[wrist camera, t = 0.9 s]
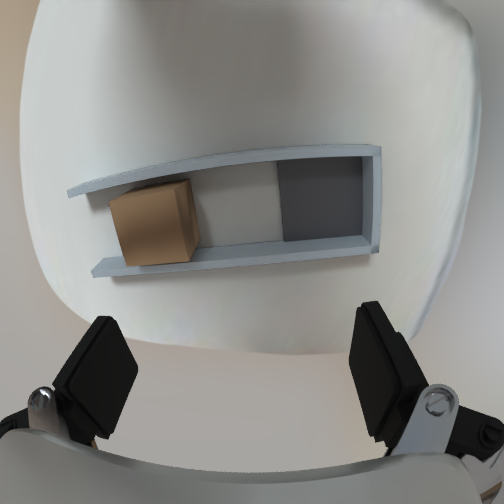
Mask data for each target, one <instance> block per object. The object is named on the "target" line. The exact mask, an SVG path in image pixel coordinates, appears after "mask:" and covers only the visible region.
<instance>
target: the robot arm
mask: <svg viewBox="0 0 504 504" xmlns="http://www.w3.org/2000/svg"><path fill="white" fill-rule="evenodd" d="M349 366H350V370H351V373H352V376H353V379H354V383H355V386H356V389H357V393H358V397H359V400H360V404H361V407H362V411H363V415H364V418H365V422H366V425H367V430H368V433H369V435H370V437H372V436H374V439H375V442H380V441H384V442H385V445H386V447H388V449H387V450H386V452H385V454H384V456H383V457H382V458H378V459H372V460H367V461H361V462H356V463H351V464H345V465H339V466H334V467H326V468H317V469H310V470H299V471H287V472H265V473H264V472H263V473H241V472H240V473H238V472H216V471H204V470H194V469H185V468H179V467H172V466H165V465H160V464H154V463H149V462H145V461H140V460H135V459H131V458H127V457H123V456H119V455H115V454H112V453H108V452H105V451H102V450H98V447H97V445H96V442H95V439H94V438H95V435H97V436H98V437H100V438H104V439H109V436H110V434H112V433H113V432H114V430H115V427H116V424H117V422H118V420H119V417H120V414H121V412H122V409H123V407H124V405H125V402H126V400H127V397H128V394H129V392H130V390H131V388H132V385H133V383H134V380H135V378H136V376H137V373H138V365H137V363H136V361H135V359H134V357H133V355H132V354H131V351H130V349H129V347H128V345H127V343H126V341H125V339H124V337H123V334H122V332H121V330H120V328H119V326H118V323H117V321H116V320H114V319H113V318H112V317H111V316H98V317H97V318H96V319H95V321H94V322H93V323H92V325H91V326H90V328H89V329H88V330H87V332H86V333H85V335H84V336H83V338H82V339H81V341H80V342H79V343H78V345H77V346H76V348H75V349H74V351H73V352H72V354H71V355H70V357H69V358H68V360H67V361H66V363H65V364H64V366H63V367H62V369H61V370H60V372H59V374H58V375H57V377H56V378H55V380H54V382H53V383H52V385H53V386H54V387H55V390H54V391H53V390H52V389H51V388H49V387H45V386H44V387H39V388H38V389H36V390H35V391H33V392H32V394H31V395H30V397H29V399H28V408H26V409H23V410H21V411H19V412H17V413H14V414H12V415H10V416H7V417H6V418H4V419H3V420H2V421H1V422H0V504H504V424H503V423H502V422H501V421H500V420H498V419H497V418H494V417H491V416H488V415H485V414H482V413H480V412H477V411H474V410H471V409H468V408H466V407H463V406H460V405H459V399H458V396H457V394H456V393H455V391H454V390H453V389H452V388H450V387H448V386H446V385H443V384H433V385H430V386H429V384H428V382H427V380H426V378H425V376H424V374H423V372H422V371H421V368H420V367H419V365H418V363H417V361H416V359H415V357H414V355H413V353H412V351H411V350H410V348H409V346H408V344H407V342H406V341H405V339H404V337H403V335H402V334H401V333H399V332H395V330H394V328H393V326H392V325H391V323H390V321H389V319H388V318H387V316H386V314H385V312H384V311H383V309H382V307H381V305H380V304H379V302H378V301H371V302H363V303H362V304H361V307H358V308H357V310H356V317H355V324H354V331H353V337H352V343H351V349H350V355H349Z"/></svg>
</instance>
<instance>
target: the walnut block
mask: <svg viewBox="0 0 504 504" xmlns="http://www.w3.org/2000/svg"><path fill="white" fill-rule="evenodd" d="M109 205H110V209H111V213H112V217H113V221H114V225H115V229H116V232H117V236H118V239H119V243H120V246H121V250H122V253H123V256H124V259H125V263H126V266H127V267H129V266H141V265H152V264H164V263H175V262H186V261H189V260H190V258H191V256H192V254H193V253H194V251H195V249H196V247H197V245H198V243H199V241H200V239H201V238H200V233H199V227H198V222H197V217H196V211H195V206H194V200H193V195H192V189H191V183H190V178H189V179H183V180H177V181H171V182H166V183H160V184H155V185H149V186H144V187H139V188H134V189H131V190H130V191H128V192H126V193H124V194H122V195H120V196H118V197H117V198H115V199H113V200H111V201H109Z"/></svg>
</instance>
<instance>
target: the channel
mask: <svg viewBox="0 0 504 504" xmlns="http://www.w3.org/2000/svg"><path fill="white" fill-rule="evenodd" d="M273 160H277V166H278V176H279V187H280V198H281V209H282V222H283V234H284V240H283V241H272V242H262V243H251V244H241V245H230V246H220V247H210V248H200V249H195V251H194V253H193V254H192V256H191V258H190V260H189V261H186V262H175V263H164V264H152V265H141V266H129V267H127V266H126V263H125V259H124V256H122V257H112V258H104V259H103V260H102V261H100V262H99V263H98V264H97V265H96V266H95V267H94V268H93V269H92V270H91V273H92V275H93V278H96V277H110V276H124V275H138V274H152V273H165V272H178V271H190V270H202V269H214V268H226V267H238V266H249V265H260V264H271V263H282V262H293V261H303V260H314V259H324V258H334V257H344V256H354V255H363V254H373V253H379V242H380V227H381V203H382V158H381V147H380V146H375V145H369V144H339V145H311V146H294V147H280V148H269V149H259V150H249V151H241V152H233V153H225V154H218V155H211V156H205V157H198V158H192V159H186V160H181V161H175V162H170V163H165V164H160V165H155V166H150V167H146V168H141V169H137V170H133V171H128V172H124V173H120V174H116V175H112V176H108V177H105V178H101V179H97V180H94V181H90V182H87V183H83V184H81V185H78V186H76V187H74V188H71V189H69V190H67V193H68V198H71V197H74V196H78V195H82V194H85V193H89V192H93V191H97V190H101V189H105V188H109V187H113V186H117V185H121V184H126V183H130V182H135V181H139V180H144V179H149V178H154V177H159V176H165V175H170V174H176V173H181V172H187V171H193V170H200V169H206V168H213V167H220V166H228V165H236V164H244V163H253V162H263V161H273Z"/></svg>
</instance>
